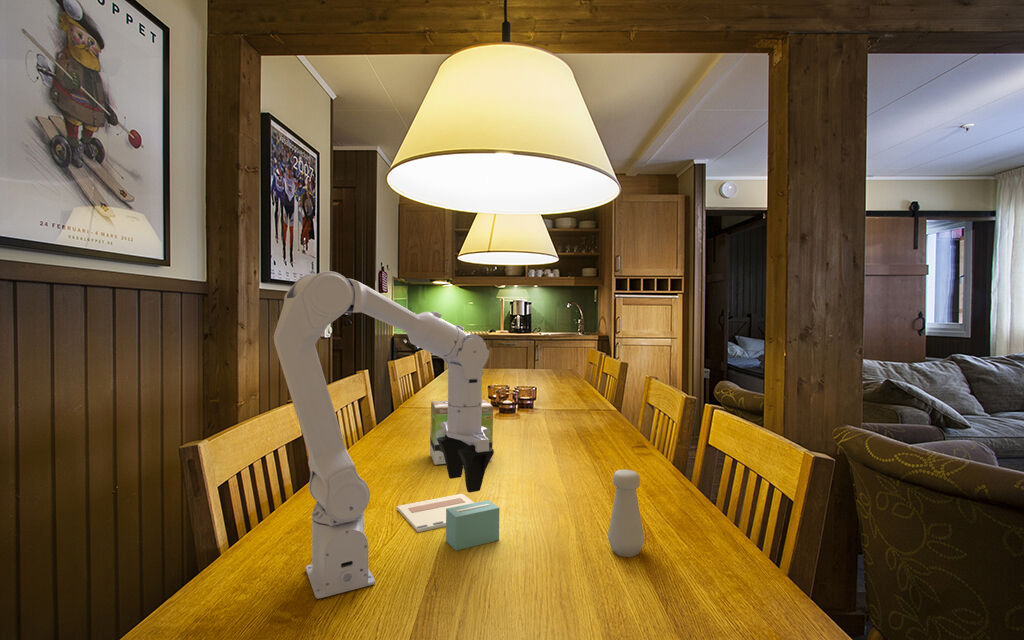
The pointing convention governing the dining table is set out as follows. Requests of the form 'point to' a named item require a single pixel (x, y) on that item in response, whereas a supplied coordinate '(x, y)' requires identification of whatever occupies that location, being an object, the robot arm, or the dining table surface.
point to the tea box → (441, 415)
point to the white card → (431, 511)
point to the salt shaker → (626, 515)
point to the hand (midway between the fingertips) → (464, 484)
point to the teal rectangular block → (472, 524)
